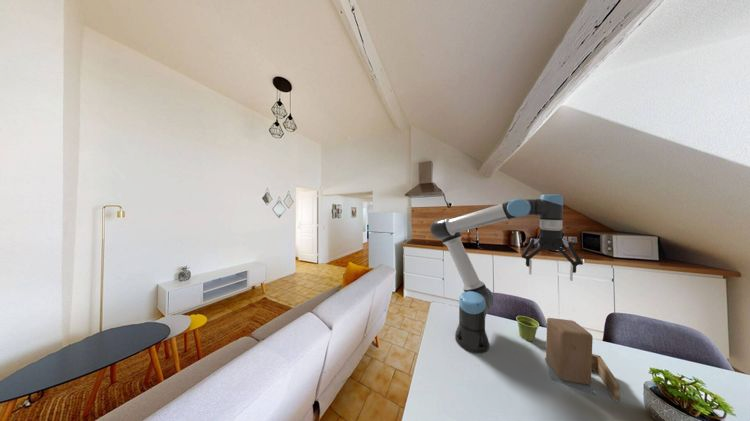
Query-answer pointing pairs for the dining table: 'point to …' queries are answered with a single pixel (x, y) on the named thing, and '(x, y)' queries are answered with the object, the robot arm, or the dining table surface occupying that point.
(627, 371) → the dining table surface
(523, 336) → the plant pot
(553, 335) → the wooden block
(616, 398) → the wooden angle piece
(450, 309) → the dining table surface
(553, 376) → the mat
